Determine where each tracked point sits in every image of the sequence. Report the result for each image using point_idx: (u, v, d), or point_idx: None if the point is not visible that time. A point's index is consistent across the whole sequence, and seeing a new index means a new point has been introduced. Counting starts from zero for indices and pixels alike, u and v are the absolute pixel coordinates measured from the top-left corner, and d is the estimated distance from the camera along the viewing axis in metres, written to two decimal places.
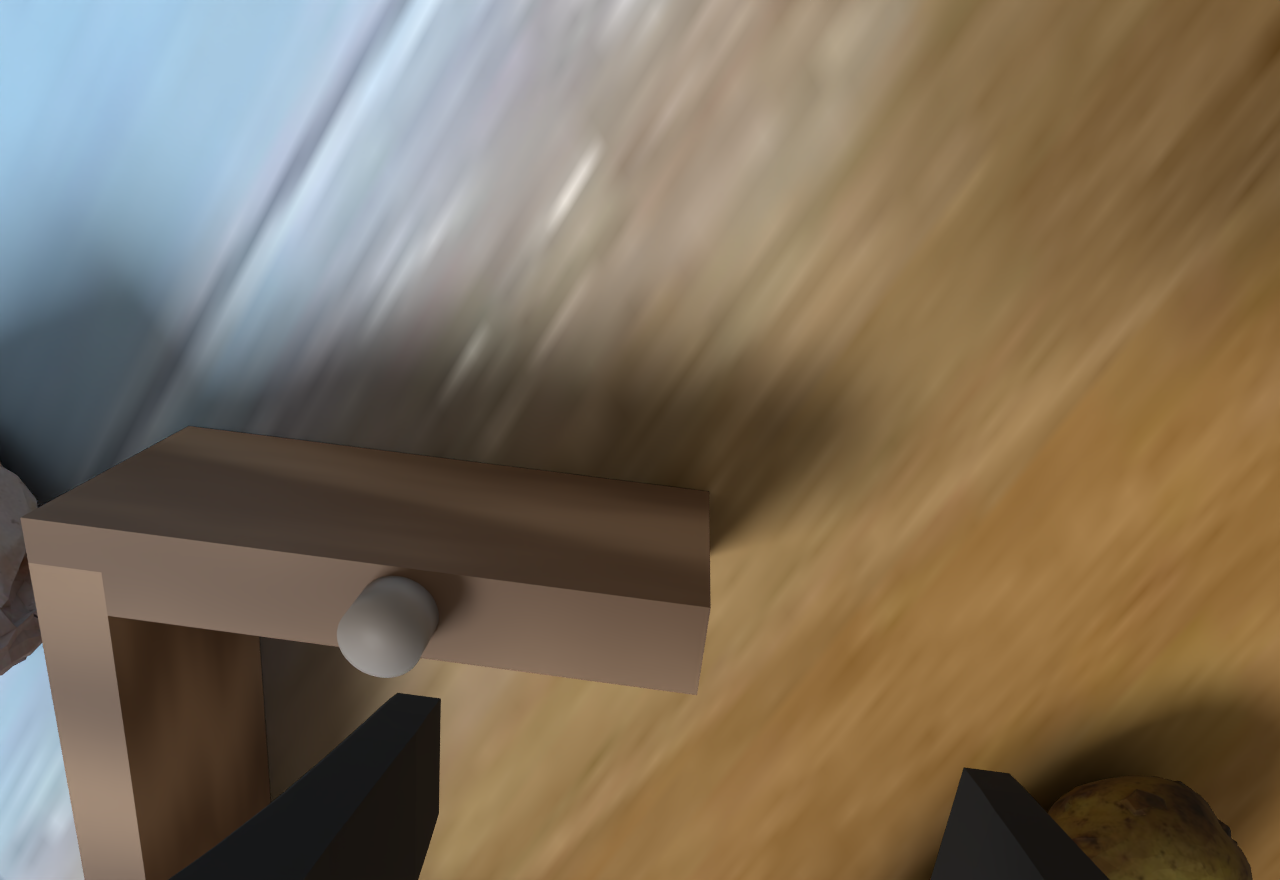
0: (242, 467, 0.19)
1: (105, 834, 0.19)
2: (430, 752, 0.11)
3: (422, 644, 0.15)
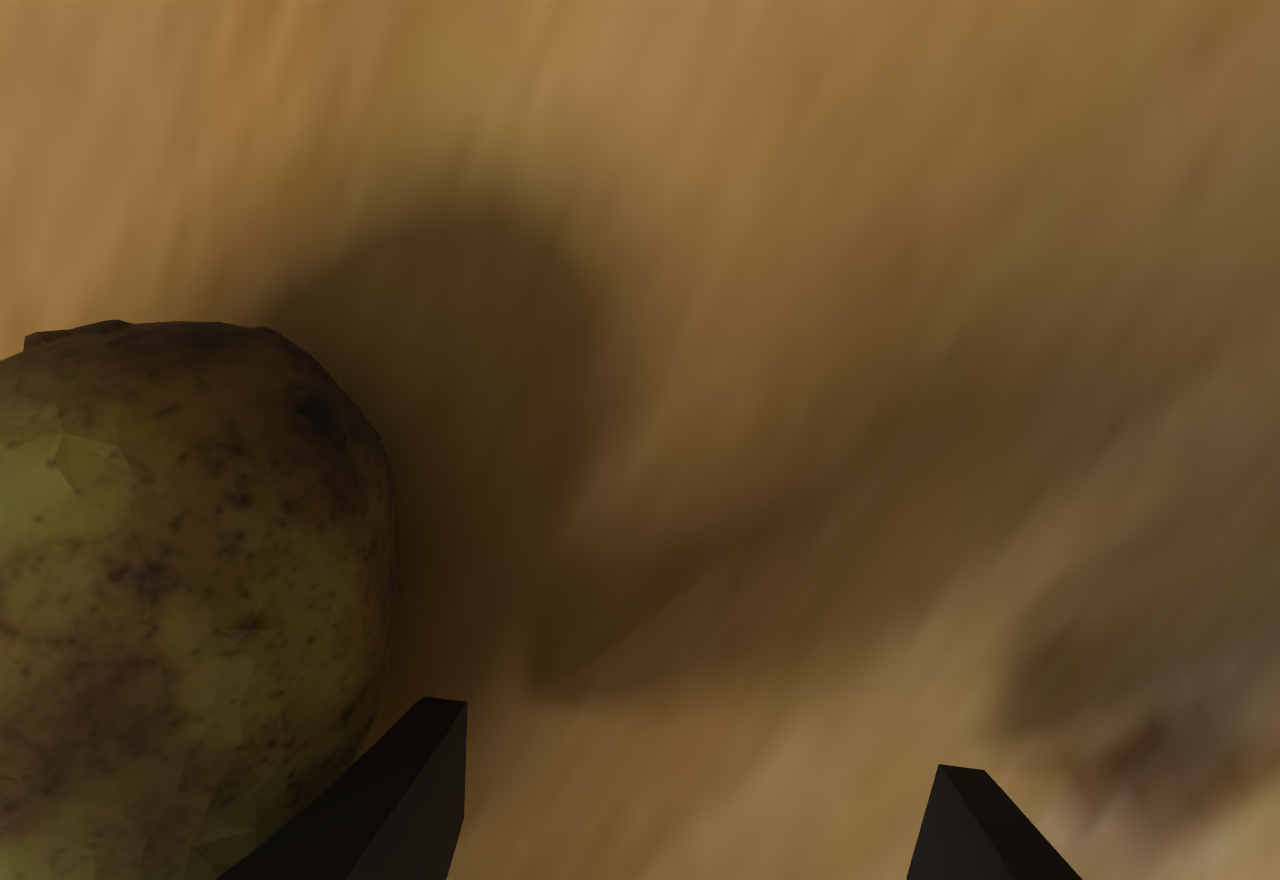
0: None
1: None
2: (457, 755, 0.11)
3: None
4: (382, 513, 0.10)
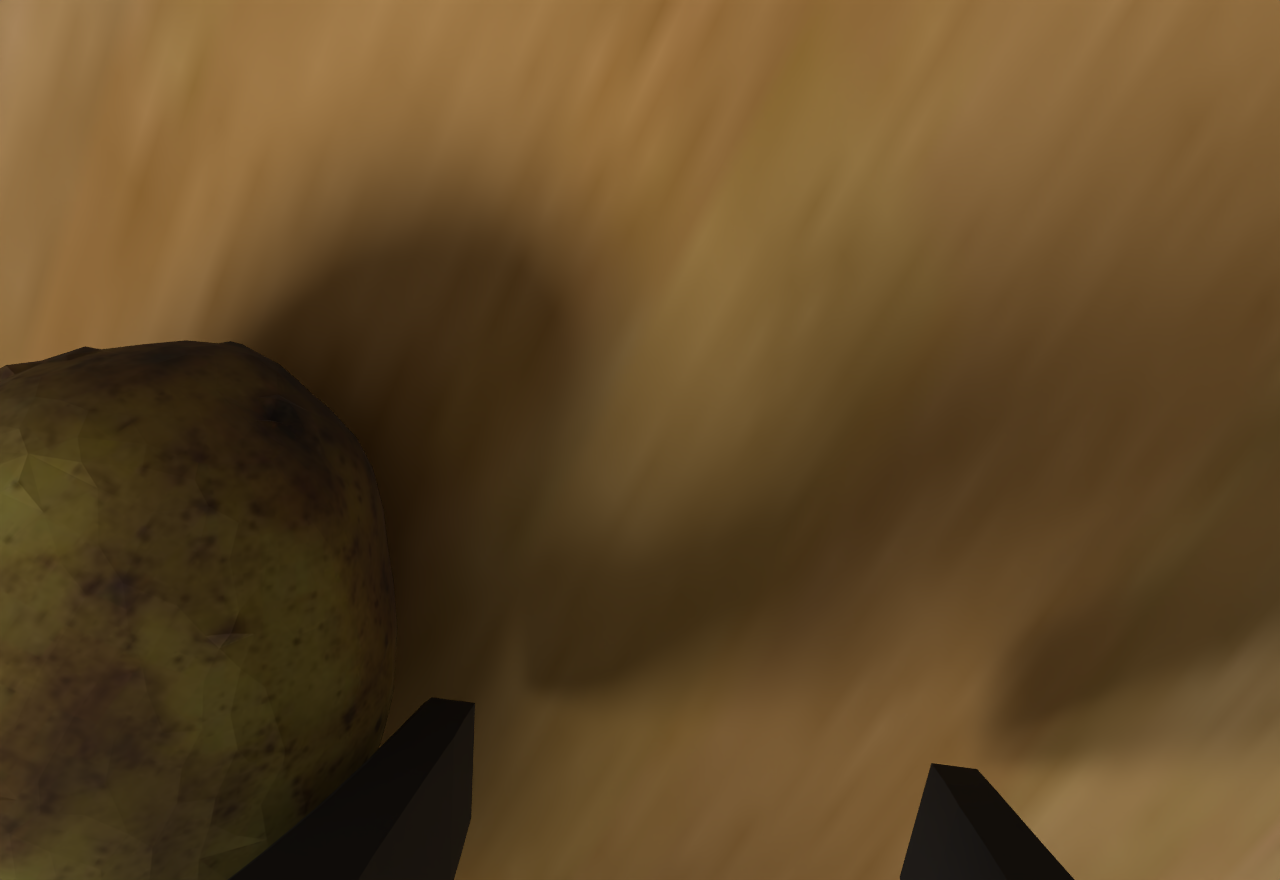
0: None
1: None
2: (465, 756, 0.11)
3: None
4: (364, 514, 0.10)
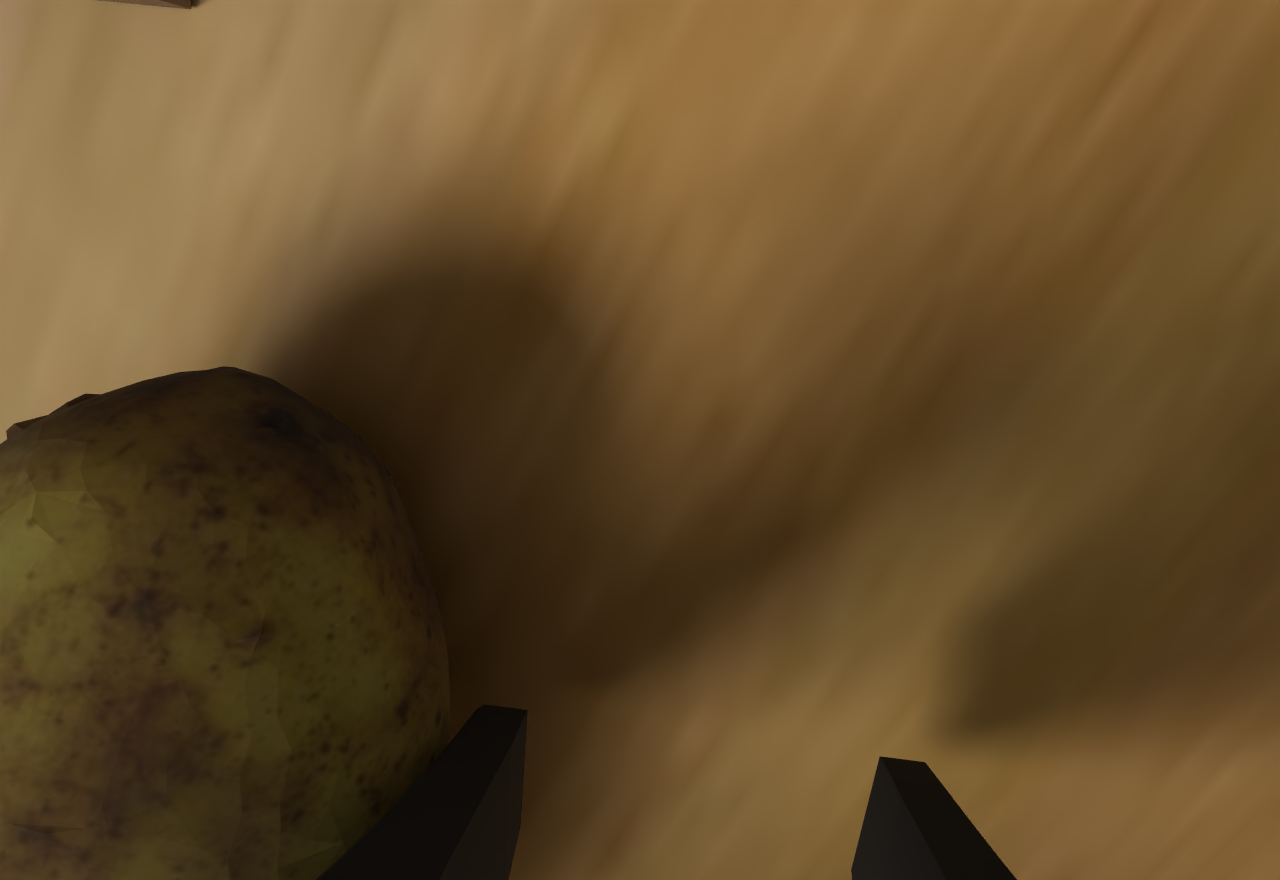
0: None
1: None
2: (519, 764, 0.11)
3: None
4: (381, 508, 0.10)
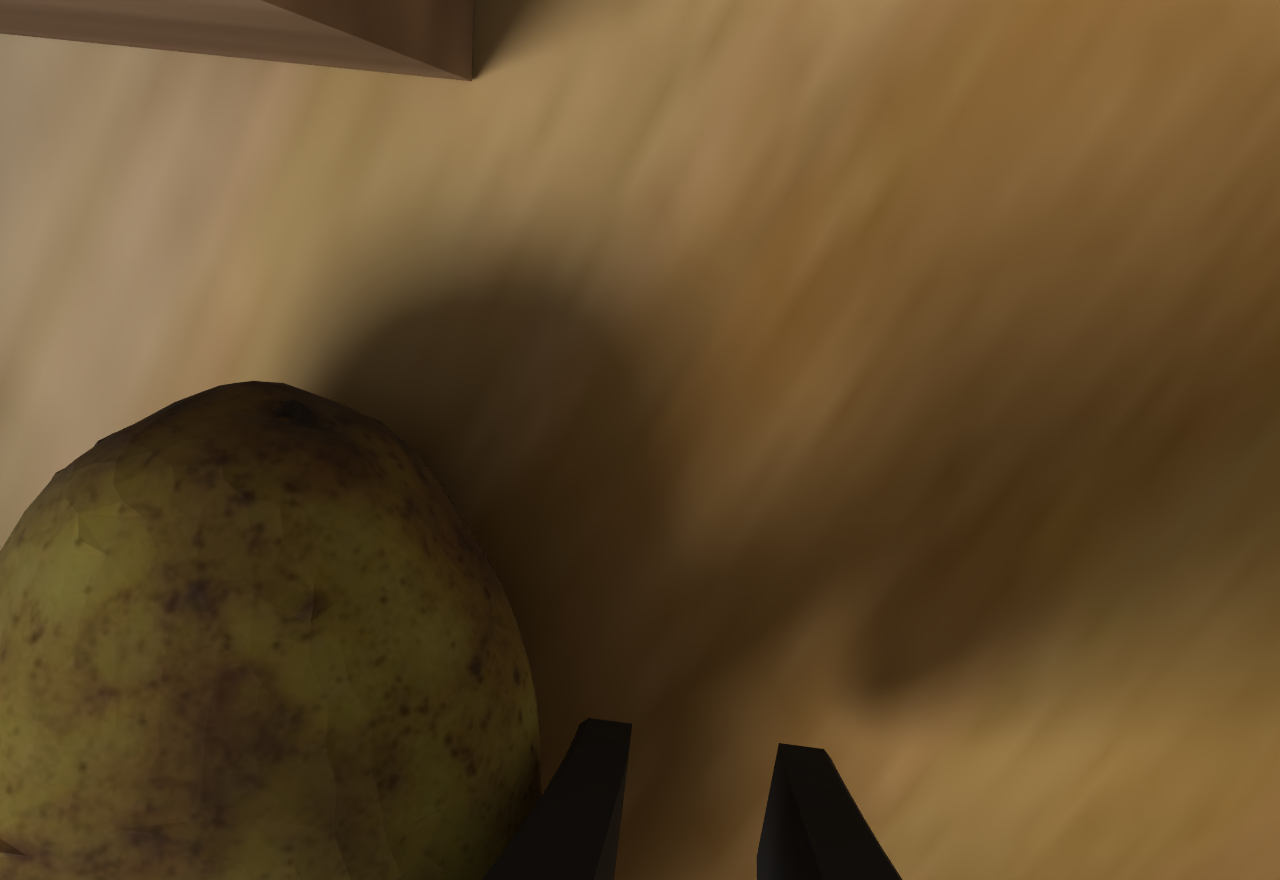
0: None
1: None
2: None
3: None
4: (411, 479, 0.10)
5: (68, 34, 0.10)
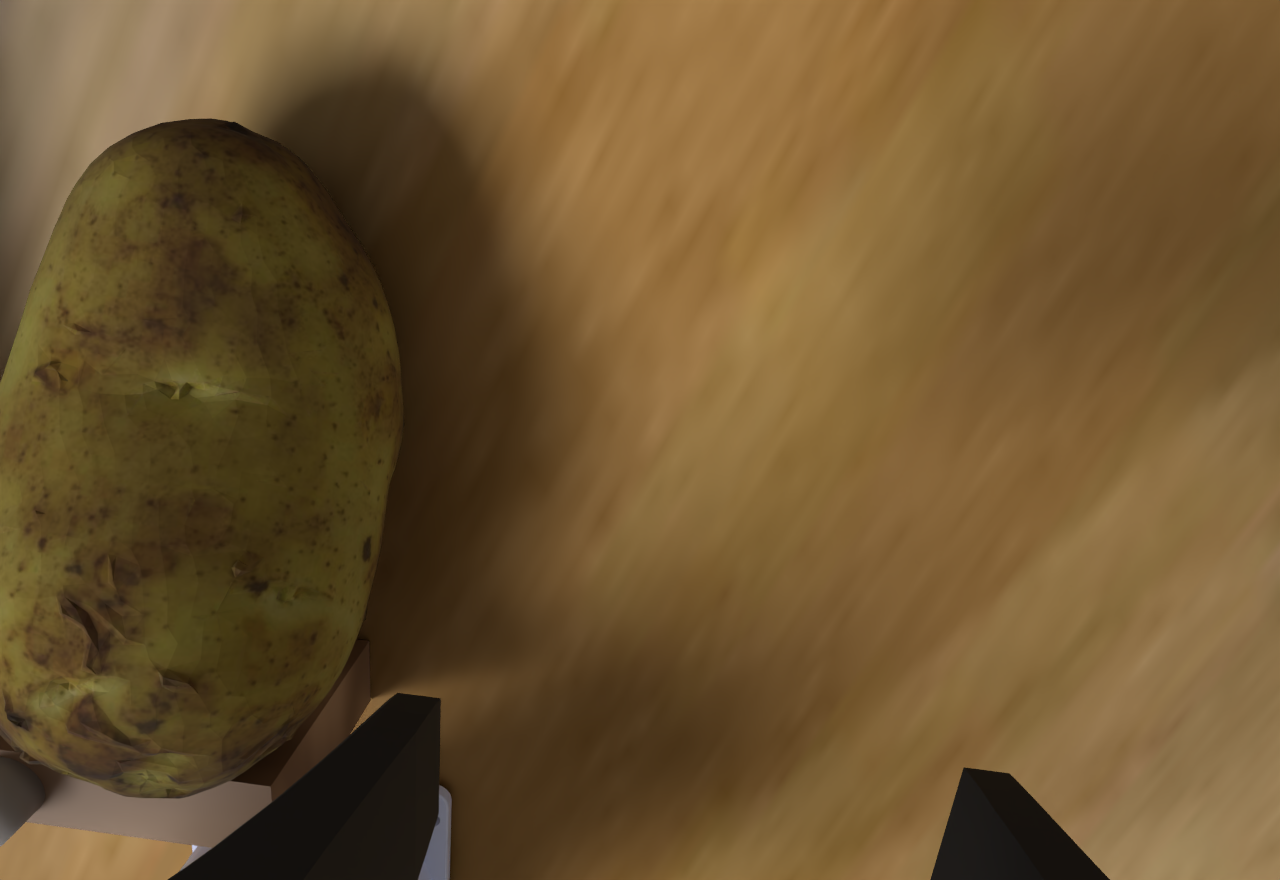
0: None
1: None
2: (430, 752, 0.11)
3: None
4: (307, 178, 0.17)
5: None
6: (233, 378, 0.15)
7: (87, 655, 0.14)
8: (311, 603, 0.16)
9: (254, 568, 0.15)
